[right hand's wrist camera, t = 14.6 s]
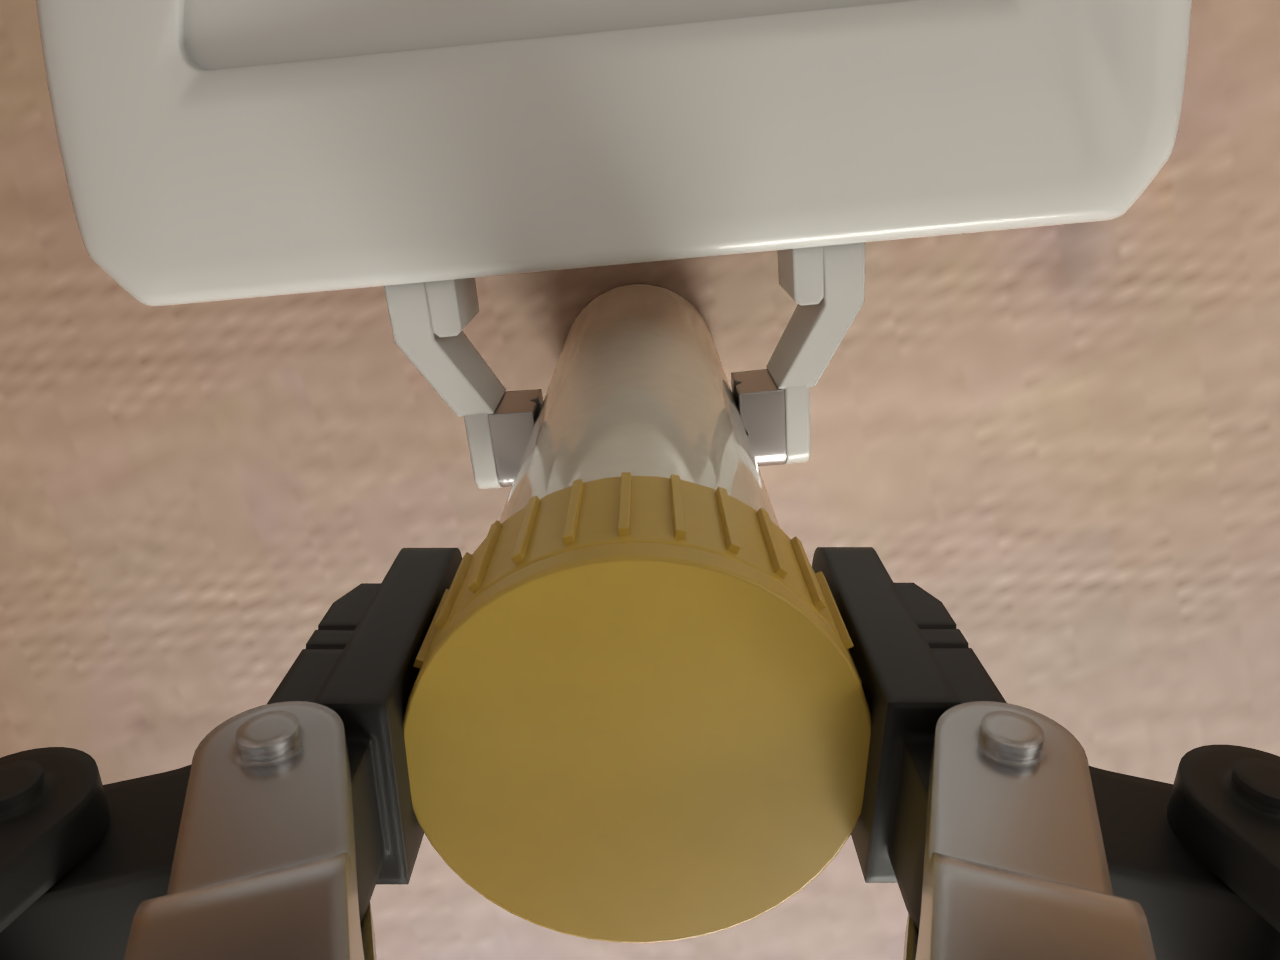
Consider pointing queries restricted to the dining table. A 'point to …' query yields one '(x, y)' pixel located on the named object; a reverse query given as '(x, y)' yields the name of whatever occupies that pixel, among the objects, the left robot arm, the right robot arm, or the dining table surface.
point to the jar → (639, 404)
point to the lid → (637, 714)
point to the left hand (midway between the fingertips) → (644, 467)
